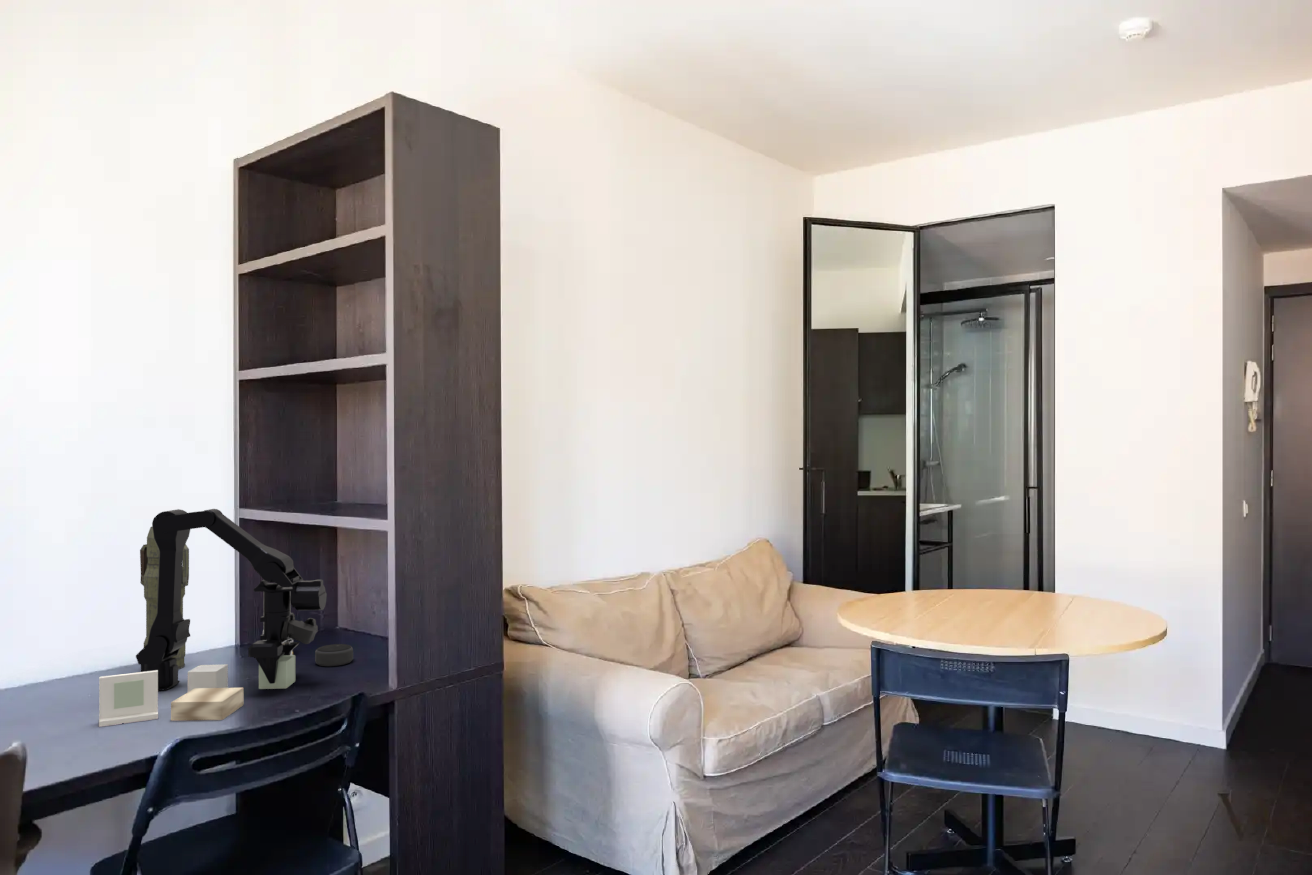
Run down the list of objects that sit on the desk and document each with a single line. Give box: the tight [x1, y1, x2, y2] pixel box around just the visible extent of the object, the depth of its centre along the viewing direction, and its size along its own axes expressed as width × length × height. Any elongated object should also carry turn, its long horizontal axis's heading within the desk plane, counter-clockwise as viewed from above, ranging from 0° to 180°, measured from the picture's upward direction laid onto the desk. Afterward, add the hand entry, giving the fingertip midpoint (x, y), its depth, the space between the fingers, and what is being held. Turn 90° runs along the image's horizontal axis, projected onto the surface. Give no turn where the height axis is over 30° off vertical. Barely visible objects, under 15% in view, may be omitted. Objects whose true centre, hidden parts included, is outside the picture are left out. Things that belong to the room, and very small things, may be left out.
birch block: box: [170, 687, 245, 722], centre depth 182 cm, size 10×10×4 cm
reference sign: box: [98, 670, 159, 728], centre depth 178 cm, size 10×5×9 cm, turn 120°
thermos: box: [139, 526, 190, 670], centre depth 219 cm, size 9×12×35 cm
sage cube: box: [258, 654, 296, 690], centre depth 203 cm, size 6×6×6 cm
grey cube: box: [187, 663, 229, 693], centre depth 195 cm, size 6×6×6 cm
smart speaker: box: [314, 643, 354, 667], centre depth 223 cm, size 9×9×4 cm
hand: (277, 679), depth 203 cm, fingers closed on sage cube, 6 cm apart
